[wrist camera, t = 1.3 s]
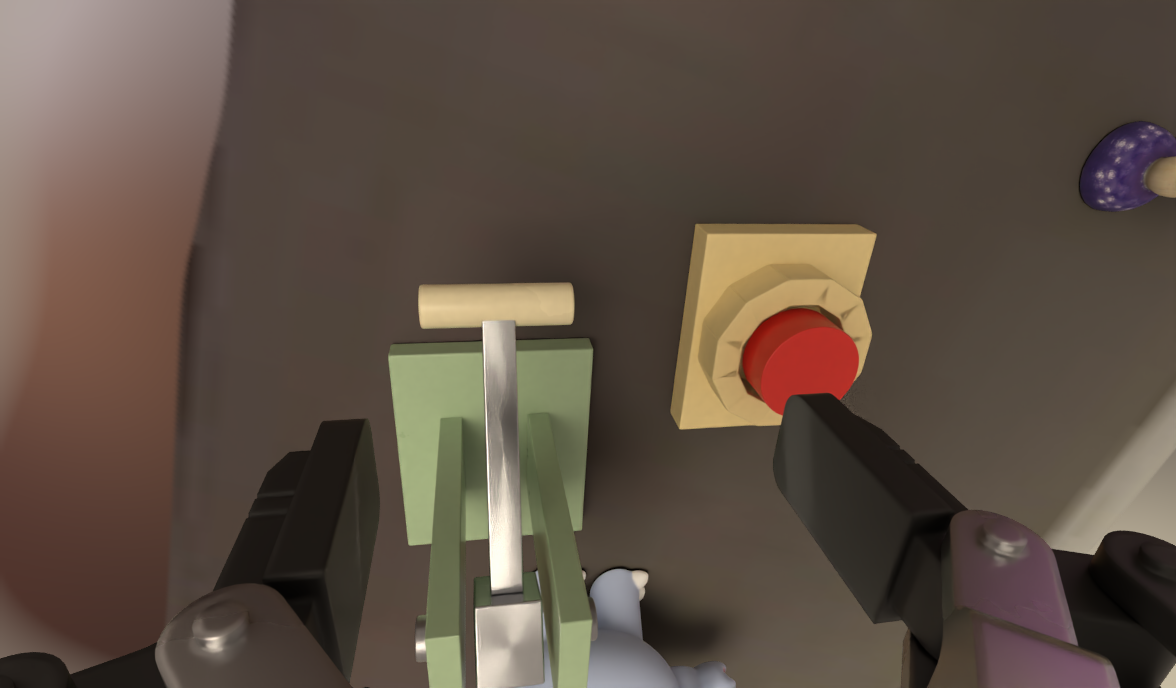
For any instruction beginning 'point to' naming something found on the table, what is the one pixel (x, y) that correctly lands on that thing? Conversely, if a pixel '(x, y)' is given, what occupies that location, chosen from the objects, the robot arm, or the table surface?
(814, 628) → the table surface
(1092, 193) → the toy lamp
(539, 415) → the bracket
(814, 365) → the button
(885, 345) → the table surface
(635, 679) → the hippopotamus toy
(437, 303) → the lever
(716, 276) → the button box
